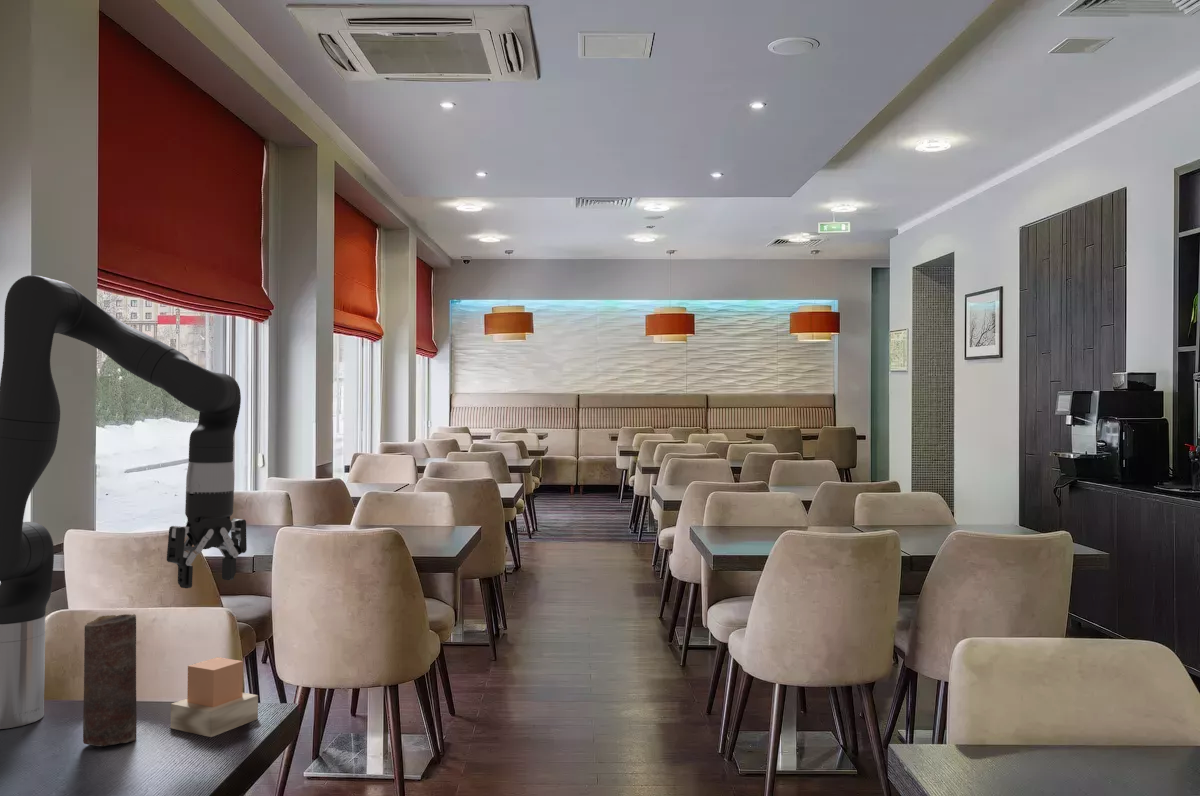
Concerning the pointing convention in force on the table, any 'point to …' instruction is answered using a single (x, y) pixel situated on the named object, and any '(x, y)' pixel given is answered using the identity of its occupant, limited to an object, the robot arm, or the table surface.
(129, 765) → the table surface
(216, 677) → the terracotta cube
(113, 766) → the table surface
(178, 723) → the oak plinth
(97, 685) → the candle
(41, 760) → the table surface
